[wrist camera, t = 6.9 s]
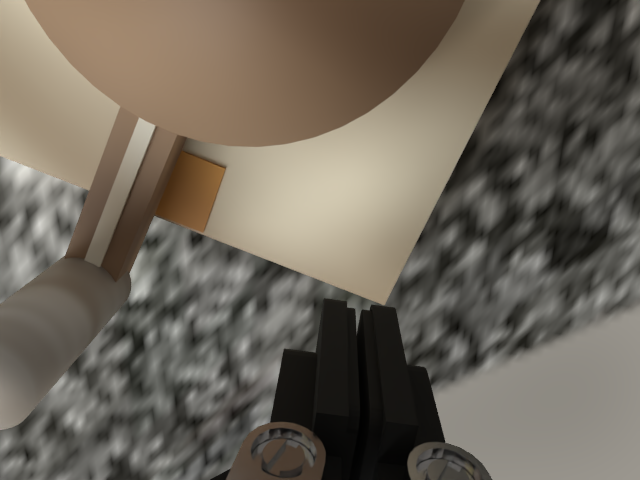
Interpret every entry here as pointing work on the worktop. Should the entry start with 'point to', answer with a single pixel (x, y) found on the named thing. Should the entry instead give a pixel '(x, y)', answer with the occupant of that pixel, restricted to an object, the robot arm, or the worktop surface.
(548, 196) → the worktop surface
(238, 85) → the walnut dial
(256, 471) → the robot arm
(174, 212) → the base board
